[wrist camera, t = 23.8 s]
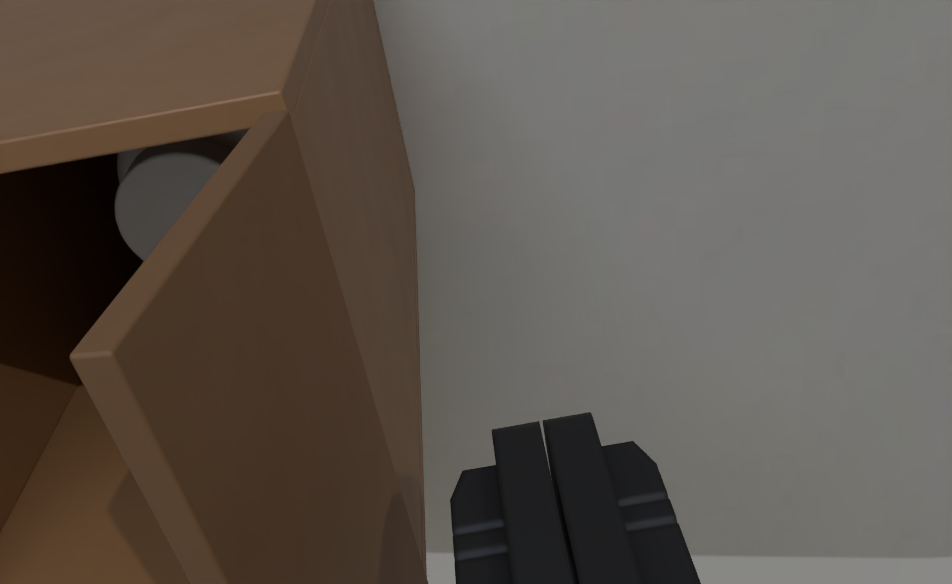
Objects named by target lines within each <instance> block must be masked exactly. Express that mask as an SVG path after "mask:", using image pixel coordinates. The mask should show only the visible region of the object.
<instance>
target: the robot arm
mask: <svg viewBox="0 0 952 584" xmlns="http://www.w3.org/2000/svg"><path fill="white" fill-rule="evenodd" d="M543 427H544V433H545V440H546V446H547V453H548V459H549V466H550V470H549V466H548V461H547V456H546V452H545V447H544V442H543V438H542V433H541V428H540V424H539V421H538V422H533V423H527V424H521V425H515V426H510V427H504V428H498V429H492V438H493V445H494V452H495V459H496V465H493V466H487V467H482V468H476V469H470V470H464V471H462V473H461V476H460V478H459V480H458V483H457V485H456V487H455V490H454V492H453V495H452V497H451V499H450V503H451V517H452V531H453V547H454V558H455V576H456V584H701V583H700V580H699V578H698V575H697V572H696V570H695V567H694V564H693V562H692V559H691V556H690V553H689V551H688V548H687V545H686V543H685V540H684V537H683V534H682V532H681V529H680V526H679V524H678V523H677V520H676V515H675V513H674V510H673V507H672V505H671V502H670V499H668V495H667V491H666V488H665V486H664V483H663V480H662V478H661V475H660V472H659V470H658V467H657V464H656V463H655V462H654V461H653V460H652V459H651V458H650V457H649V456H648V455H647V454H646V453H645V452H644V451H643V450H642V449H641V448H640V447H639V446H637V445H636V444H635V443H634V442H633V441H630V442H625V443H619V444H613V445H607V446H601V443H600V440H599V437H598V433H597V430H596V427H595V423H594V420H593V417H592V414H591V413H590V412H589V413H583V414H577V415H571V416H566V417H560V418H554V419H548V420H543ZM550 472H551V475H550ZM551 479H552V480H551Z"/></svg>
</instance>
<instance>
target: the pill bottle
mask: <svg viewBox="0 0 952 584" xmlns="http://www.w3.org/2000/svg"><path fill="white" fill-rule="evenodd" d="M248 130H249V129H248ZM248 130H242V131H236V132H231V133H225V134H220V135H214V136H209V137H203V138H198V139H192V140H187V141H181V142H176V143H170V144H164V145H159V146H153V147H148V148H142V149H137V150H131V151H126V152H120V153H118V156H117V173H118V179H119V183H120V185H119V187H118V189H117V192H116V196H115V207H114V208H115V219H116V222H117V225H118V228H119V231H120V233H121V235H122V237H123V239H124V240H125V242H126V243H127V245H128V246H129V247H130V248H131V250H132V251H133V252H134V253H135V254H136V255H137V256H139V257H140V258H141V259H142V260H143V261H145V260H146V258H147V257H148V256H149V255H150V253H151V252H152V251H153V250H154V248H155V247H156V246H157V245H158V243H159V242H160V241H161V240H162V238H163V237H164V236H165V235H166V233H167V232H168V231H169V230H170V228H171V227H172V226H173V225H174V223H175V222H176V221H177V219H178V218H179V217H180V216H181V214H182V213H183V212H184V211H185V209H186V208H187V207H188V206H189V204H190V203H191V202H192V201H193V199H194V198H195V197H196V196H197V194H198V193H199V192H200V191H201V189H202V188H203V187H204V186H205V184H206V183H207V182H208V181H209V179H210V178H211V177H212V176H213V174H214V173H215V172H216V171H217V169H218V168H219V167H220V165H221V164H222V163H223V162H224V160H225V159H226V158H227V157H228V155H229V154H230V153H231V152H232V150H233V149H234V148H235V147H236V145H237V144H238V143H239V142H240V140H241V139H242V138H243V137H244V135H245V134H246V133H247V132H248Z"/></svg>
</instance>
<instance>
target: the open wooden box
mask: <svg viewBox="0 0 952 584" xmlns="http://www.w3.org/2000/svg"><path fill="white" fill-rule="evenodd" d="M281 110H288V112H289V114H290V117H291V121H292V124H293V127H294V131H295V134H296V138H297V141H298V144H299V148H300V151H301V155H302V158H303V161H304V165H305V168H306V171H307V175H308V178H309V182H310V185H311V188H312V192H313V195H314V199H315V202H316V205H317V209H318V212H319V215H320V219H321V222H322V226H323V229H324V232H325V236H326V239H327V243H328V246H329V249H330V253H331V256H332V259H333V263H334V266H335V270H336V273H337V276H338V280H339V283H340V287H341V290H342V293H343V297H344V300H345V304H346V307H347V310H348V314H349V317H350V320H351V324H352V327H353V331H354V334H355V337H356V341H357V344H358V348H359V351H360V354H361V358H362V361H363V364H364V368H365V371H366V375H367V378H368V381H369V385H370V388H371V392H372V395H373V398H374V402H375V405H376V408H377V412H378V415H379V419H380V422H381V425H382V429H383V432H384V436H385V439H386V442H387V446H388V449H389V452H390V456H391V459H392V463H393V466H394V469H395V473H396V476H397V480H398V483H399V486H400V490H401V493H402V496H403V500H404V503H405V507H406V510H407V513H408V517H409V520H410V524H411V527H412V530H413V534H414V537H415V540H416V544H417V547H418V551H419V554H420V557H421V561H422V564H423V568H424V571H425V574H426V541H425V509H424V477H423V444H422V412H421V379H420V347H419V315H418V282H417V250H416V217H415V190H414V185H413V181H412V176H411V172H410V167H409V162H408V158H407V153H406V149H405V144H404V140H403V135H402V131H401V126H400V122H399V117H398V112H397V108H396V103H395V99H394V94H393V90H392V85H391V81H390V76H389V72H388V67H387V62H386V58H385V53H384V49H383V44H382V40H381V35H380V31H379V26H378V21H377V17H376V12H375V8H374V3H373V0H0V584H191V582H190V580H189V579H188V577H187V575H186V573H185V571H184V569H183V567H182V566H181V564H180V562H179V560H178V558H177V556H176V554H175V553H174V551H173V549H172V547H171V545H170V543H169V542H168V540H167V538H166V536H165V534H164V532H163V530H162V529H161V527H160V525H159V523H158V521H157V519H156V518H155V516H154V514H153V512H152V510H151V508H150V506H149V505H148V503H147V501H146V499H145V497H144V495H143V493H142V492H141V490H140V488H139V486H138V484H137V482H136V481H135V479H134V477H133V475H132V473H131V471H130V469H129V468H128V466H127V464H126V462H125V460H124V458H123V457H122V455H121V453H120V451H119V449H118V447H117V445H116V444H115V442H114V440H113V438H112V436H111V434H110V432H109V431H108V429H107V427H106V425H105V423H104V421H103V420H102V418H101V416H100V414H99V412H98V410H97V408H96V407H95V405H94V403H93V401H92V399H91V397H90V395H89V394H88V392H87V390H86V388H85V386H84V384H83V383H82V381H81V379H80V377H79V375H78V373H77V371H76V370H75V368H74V366H73V364H72V362H71V360H70V354H71V353H72V351H73V350H74V349H75V348H76V346H77V345H78V344H79V343H80V341H81V340H82V339H83V338H84V336H85V335H86V334H87V332H88V331H89V330H90V329H91V327H92V326H93V325H94V324H95V322H96V321H97V320H98V319H99V317H100V316H101V315H102V314H103V312H104V311H105V310H106V309H107V307H108V306H109V305H110V304H111V302H112V301H113V300H114V299H115V297H116V296H117V295H118V294H119V292H120V291H121V290H122V289H123V287H124V286H125V285H126V284H127V282H128V281H129V280H130V279H131V277H132V276H133V275H134V273H135V272H136V271H137V270H138V268H139V267H140V266H141V265H142V263H143V262H144V261H143V260H142V259H141V258H140V257H139V256H137V255H136V254H135V253H134V252H133V251H132V250H131V248H130V247H129V246H128V245H127V243H126V242H125V240H124V239H123V237H122V235H121V233H120V231H119V228H118V225H117V222H116V219H115V208H114V207H115V196H116V192H117V189H118V187H119V185H120V183H119V179H118V173H117V156H118V153H120V152H126V151H131V150H137V149H142V148H148V147H153V146H159V145H164V144H170V143H176V142H181V141H187V140H192V139H198V138H203V137H209V136H214V135H220V134H225V133H231V132H236V131H242V130H248V129H250V128H251V127H252V125H253V124H254V123H255V122H256V120H257V119H258V118H259V117H260V115H261V114H262V113H265V112H273V111H281ZM426 578H427V575H426Z"/></svg>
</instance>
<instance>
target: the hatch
mask: <svg viewBox="0 0 952 584" xmlns="http://www.w3.org/2000/svg"><path fill="white" fill-rule="evenodd" d="M70 360H71V362H72V364H73V366H74V368H75V370H76V371H77V373H78V375H79V377H80V379H81V381H82V383H83V384H84V386H85V388H86V390H87V392H88V394H89V395H90V397H91V399H92V401H93V403H94V405H95V407H96V408H97V410H98V412H99V414H100V416H101V418H102V420H103V421H104V423H105V425H106V427H107V429H108V431H109V432H110V434H111V436H112V438H113V440H114V442H115V444H116V445H117V447H118V449H119V451H120V453H121V455H122V457H123V458H124V460H125V462H126V464H127V466H128V468H129V469H130V471H131V473H132V475H133V477H134V479H135V481H136V482H137V484H138V486H139V488H140V490H141V492H142V493H143V495H144V497H145V499H146V501H147V503H148V505H149V506H150V508H151V510H152V512H153V514H154V516H155V518H156V519H157V521H158V523H159V525H160V527H161V529H162V530H163V532H164V534H165V536H166V538H167V540H168V542H169V543H170V545H171V547H172V549H173V551H174V553H175V554H176V556H177V558H178V560H179V562H180V564H181V566H182V567H183V569H184V571H185V573H186V575H187V577H188V579H189V580H190V582H191V584H428V581H427V578H426V574H425V571H424V568H423V564H422V561H421V557H420V554H419V551H418V547H417V544H416V540H415V537H414V534H413V530H412V527H411V524H410V520H409V517H408V513H407V510H406V507H405V503H404V500H403V496H402V493H401V490H400V486H399V483H398V480H397V476H396V473H395V469H394V466H393V463H392V459H391V456H390V452H389V449H388V446H387V442H386V439H385V436H384V432H383V429H382V425H381V422H380V419H379V415H378V412H377V408H376V405H375V402H374V398H373V395H372V392H371V388H370V385H369V381H368V378H367V375H366V371H365V368H364V364H363V361H362V358H361V354H360V351H359V348H358V344H357V341H356V337H355V334H354V331H353V327H352V324H351V320H350V317H349V314H348V310H347V307H346V304H345V300H344V297H343V293H342V290H341V287H340V283H339V280H338V276H337V273H336V270H335V266H334V263H333V259H332V256H331V253H330V249H329V246H328V243H327V239H326V236H325V232H324V229H323V226H322V222H321V219H320V215H319V212H318V209H317V205H316V202H315V199H314V195H313V192H312V188H311V185H310V182H309V178H308V175H307V171H306V168H305V165H304V161H303V158H302V155H301V151H300V148H299V144H298V141H297V138H296V134H295V131H294V127H293V124H292V121H291V117H290V114H289V112H288V110H281V111H273V112H265V113H262V114H261V115H260V117H259V118H258V119H257V120H256V122H255V123H254V124H253V125H252V127H251V128H250V129H249V130H248V132H247V133H246V134H245V135H244V137H243V138H242V139H241V140H240V142H239V143H238V144H237V145H236V147H235V148H234V149H233V150H232V152H231V153H230V154H229V155H228V157H227V158H226V159H225V160H224V162H223V163H222V164H221V165H220V167H219V168H218V169H217V171H216V172H215V173H214V174H213V176H212V177H211V178H210V179H209V181H208V182H207V183H206V184H205V186H204V187H203V188H202V189H201V191H200V192H199V193H198V194H197V196H196V197H195V198H194V199H193V201H192V202H191V203H190V204H189V206H188V207H187V208H186V209H185V211H184V212H183V213H182V214H181V216H180V217H179V218H178V219H177V221H176V222H175V223H174V225H173V226H172V227H171V228H170V230H169V231H168V232H167V233H166V235H165V236H164V237H163V238H162V240H161V241H160V242H159V243H158V245H157V246H156V247H155V248H154V250H153V251H152V252H151V253H150V255H149V256H148V257H147V258H146V260H145V261H144V262H143V263H142V265H141V266H140V267H139V268H138V270H137V271H136V272H135V273H134V275H133V276H132V277H131V279H130V280H129V281H128V282H127V284H126V285H125V286H124V287H123V289H122V290H121V291H120V292H119V294H118V295H117V296H116V297H115V299H114V300H113V301H112V302H111V304H110V305H109V306H108V307H107V309H106V310H105V311H104V312H103V314H102V315H101V316H100V317H99V319H98V320H97V321H96V322H95V324H94V325H93V326H92V327H91V329H90V330H89V331H88V332H87V334H86V335H85V336H84V338H83V339H82V340H81V341H80V343H79V344H78V345H77V346H76V348H75V349H74V350H73V351H72V353H71V354H70Z"/></svg>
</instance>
